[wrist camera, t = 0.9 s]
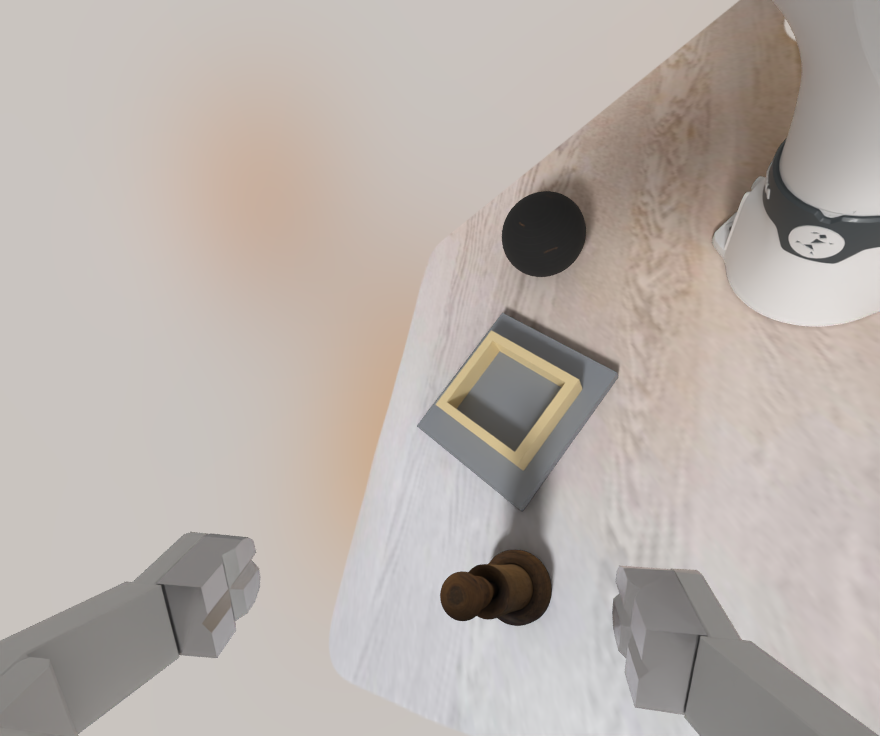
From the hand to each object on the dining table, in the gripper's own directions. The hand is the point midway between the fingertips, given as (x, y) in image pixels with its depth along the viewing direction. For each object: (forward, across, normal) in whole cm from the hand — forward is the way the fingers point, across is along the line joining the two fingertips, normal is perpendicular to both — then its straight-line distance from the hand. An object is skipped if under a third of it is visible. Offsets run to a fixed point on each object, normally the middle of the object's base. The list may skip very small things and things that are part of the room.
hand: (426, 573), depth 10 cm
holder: (+41, -3, +12) cm, 43 cm away
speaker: (+53, -8, -4) cm, 54 cm away
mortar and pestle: (+28, -4, +27) cm, 39 cm away
